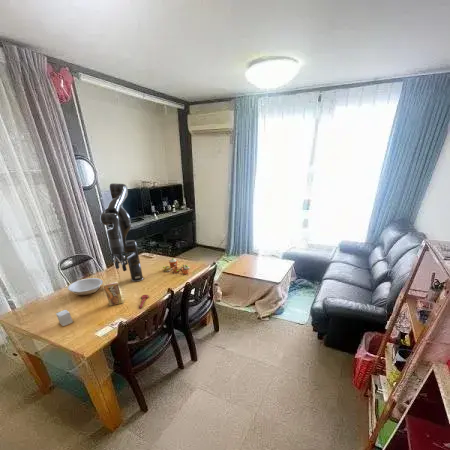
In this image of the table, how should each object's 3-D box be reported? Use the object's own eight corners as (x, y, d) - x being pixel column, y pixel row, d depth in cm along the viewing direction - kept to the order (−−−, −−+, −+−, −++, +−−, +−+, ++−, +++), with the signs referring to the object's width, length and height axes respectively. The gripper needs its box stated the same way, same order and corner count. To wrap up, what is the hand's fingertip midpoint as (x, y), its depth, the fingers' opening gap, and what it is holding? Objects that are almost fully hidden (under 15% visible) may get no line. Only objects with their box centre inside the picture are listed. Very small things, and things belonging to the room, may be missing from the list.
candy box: (122, 300, 183) (117, 281, 176) (122, 303, 180) (118, 283, 173) (109, 303, 180) (103, 283, 173) (109, 306, 177) (104, 286, 169)
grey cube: (73, 322, 160) (69, 312, 156) (62, 326, 156) (58, 316, 152) (69, 318, 163) (65, 309, 160) (59, 323, 159) (55, 313, 156)
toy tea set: (161, 271, 229) (159, 261, 224) (170, 265, 242) (169, 255, 237) (186, 275, 220) (185, 265, 216) (195, 269, 233) (194, 259, 228)
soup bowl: (110, 291, 196) (108, 283, 193) (77, 303, 181) (74, 295, 178) (97, 282, 211) (94, 275, 208) (65, 292, 196) (63, 285, 192)
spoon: (142, 296, 189) (142, 294, 188) (148, 295, 189) (148, 294, 188) (137, 308, 174) (136, 306, 173) (143, 307, 174) (143, 306, 173)
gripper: (127, 245, 162) (132, 269, 169) (114, 243, 170) (120, 266, 177) (116, 248, 157) (122, 273, 164) (104, 245, 165) (110, 269, 172)
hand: (121, 269), depth 170 cm, fingers open, 8 cm apart
